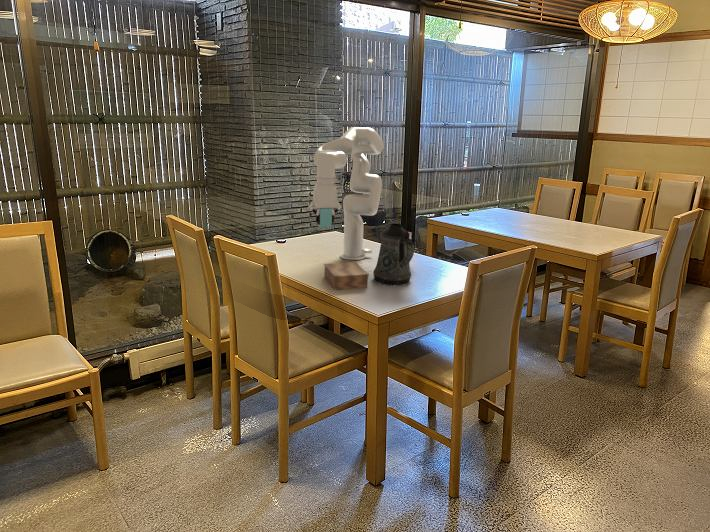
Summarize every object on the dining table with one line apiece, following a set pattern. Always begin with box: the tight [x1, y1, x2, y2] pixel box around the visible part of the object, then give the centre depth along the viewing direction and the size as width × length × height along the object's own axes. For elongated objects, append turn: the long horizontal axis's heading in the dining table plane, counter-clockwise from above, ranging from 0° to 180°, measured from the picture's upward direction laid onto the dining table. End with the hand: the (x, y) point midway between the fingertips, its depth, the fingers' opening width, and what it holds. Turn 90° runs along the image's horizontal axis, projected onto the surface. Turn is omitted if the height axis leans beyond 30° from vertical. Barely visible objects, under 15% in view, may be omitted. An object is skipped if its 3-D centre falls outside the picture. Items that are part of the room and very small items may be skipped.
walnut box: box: [323, 261, 370, 290], centre depth 228 cm, size 15×19×6 cm
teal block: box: [317, 208, 333, 228], centre depth 229 cm, size 5×5×8 cm
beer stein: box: [372, 223, 415, 286], centre depth 230 cm, size 16×19×25 cm
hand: (324, 223), depth 230 cm, fingers closed on teal block, 5 cm apart
